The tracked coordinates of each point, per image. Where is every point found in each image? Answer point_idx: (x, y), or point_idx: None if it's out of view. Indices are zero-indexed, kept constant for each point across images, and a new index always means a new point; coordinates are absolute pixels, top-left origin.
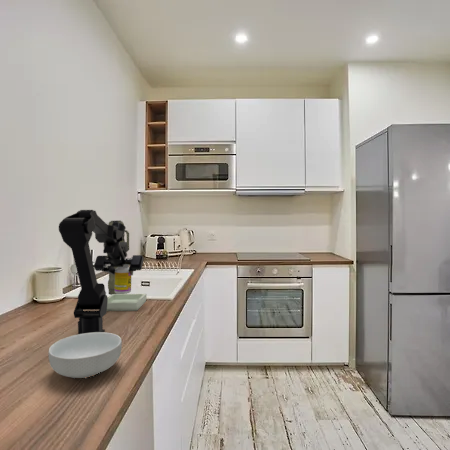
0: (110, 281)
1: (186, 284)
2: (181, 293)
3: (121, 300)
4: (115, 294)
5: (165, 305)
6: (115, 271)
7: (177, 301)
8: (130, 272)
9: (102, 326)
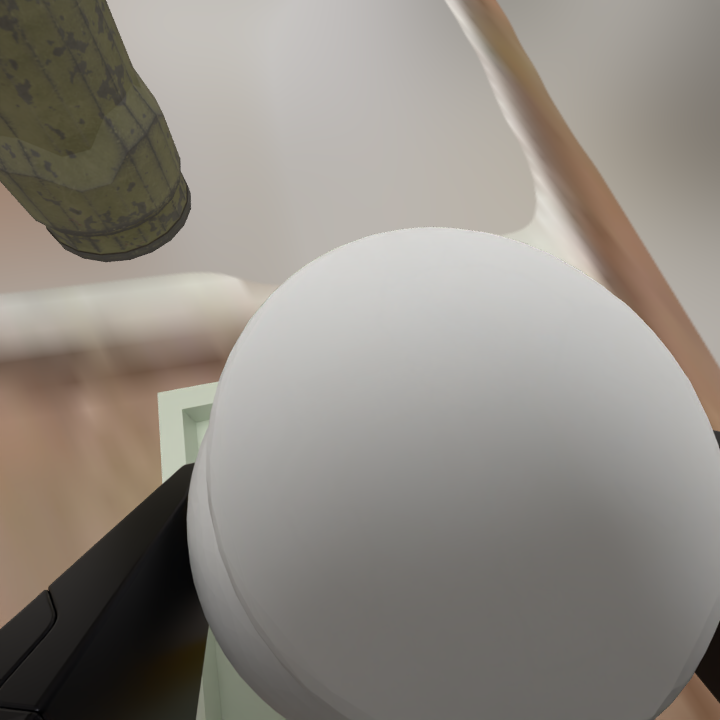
0: (14, 175)
1: (484, 20)
2: (575, 177)
3: None
4: (194, 401)
5: None
6: (262, 696)
7: (676, 345)
8: (713, 662)
9: None
